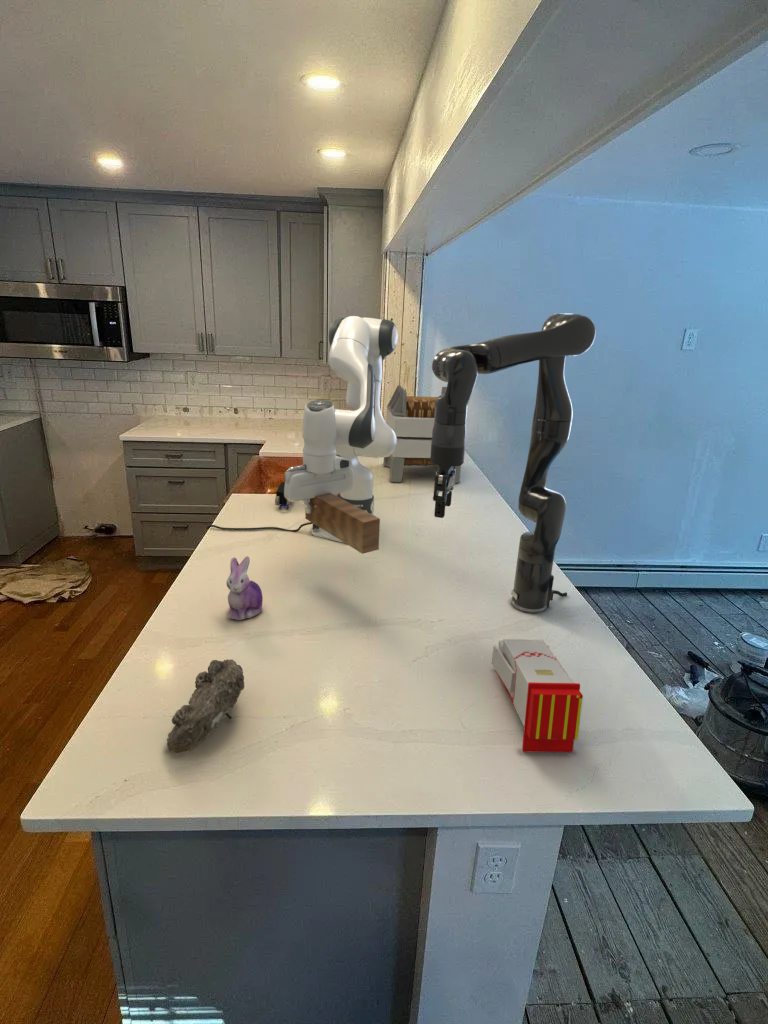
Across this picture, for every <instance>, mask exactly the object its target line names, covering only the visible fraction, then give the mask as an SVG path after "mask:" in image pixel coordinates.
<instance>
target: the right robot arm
mask: <svg viewBox="0 0 768 1024" xmlns="http://www.w3.org/2000/svg"><path fill="white" fill-rule="evenodd" d="M596 333H597V332H596V325H595V323H594V321H593V320H592V319H591V318H589V317H588V316H586V315H584V314H579V313H564V312H563V313H562V312H561V313H559V312H558V313H552V314H551V315H550V316H548V317H547V318H546V319H545V321H544V322H543V325H542V327H541V330H539V331H533V332H525V333H524V332H522V333H516V334H515V333H514V334H507V335H502V336H497V337H494V338H491V339H487V340H484V341H481V342H477V343H471V344H462V345H457V346H456V345H455V346H450V347H446V348H443V349H442V350H440V351H439V352H437V353H436V354H435V356H434V357H433V359H432V362H431V371H432V373H433V375H434V376H435V377H436V378H437V379H438V380H440V381H442V382H444V383H446V387H447V388H446V392H445V394H443V395H441V394H440V395H438V396H437V397H438V398H437V400H436V404H435V418H434V426H433V430H432V442H431V456H430V461H431V462H432V463H433V464H435V465H438V466H439V469H438V468H437V471H436V472H435V475H434V485H433V496H432V501H433V502H435V503H434V512H433V513H434V514H433V515H434V517H435V518H440V519H444V517H446V516H445V515H446V507H451V505H452V497H453V496H452V495H453V490H454V489H455V488H454V487H455V485H456V483H455V475H456V467H457V466H461V467H462V466H463V465H464V463H465V454H466V453H465V451H466V442H467V419H468V408H469V407H468V406H469V403H470V400H471V398H472V394H473V391H474V389H475V385H476V382H477V379H478V374H479V375H489V374H490V375H491V374H493V373H497V372H501V371H503V370H507V369H510V368H514V367H517V366H521V365H525V364H529V363H533V362H537V361H538V377H537V386H536V394H535V403H534V409H533V415H532V421H531V424H532V425H531V429H530V430H531V431H530V441H529V447H528V454H527V460H526V465H525V470H524V474H523V478H522V483H521V486H520V491H519V495H518V501H517V502H518V503H517V507H518V512H519V513H520V515H521V516H522V517H523V518H524V519H527V520H529V521H531V522H533V523H535V526H534V530H529V531H526V532H523V533H522V534H520V537H519V543H518V552H517V560H516V566H515V574H514V580H513V581H514V582H513V588H512V589H511V593H510V595H511V600H510V604H511V605H512V606H513V608H515V609H516V610H519V611H521V612H524V613H529V614H538V613H543V612H545V611H546V610H547V609H549V608H550V604H551V601H553V600H554V595H558V596H560V597H562V598H563V597H567V596H568V592H561V591H559V590H554V589H553V585H554V579H555V576H554V575H553V574H552V571H553V565H554V559H555V554H556V553H555V552H556V548H557V545H558V542H559V541H560V538H561V534H562V531H563V525H564V521H565V516H566V511H567V502H566V499H565V497H564V495H563V494H561V493H560V492H558V491H555V490H552V489H549V488H547V478H548V474H549V470H550V468H551V465H552V463H553V462H554V460H555V459H556V458H557V457H558V456H559V454H561V452H562V451H563V450H564V448H565V446H566V445H567V443H568V441H569V438H570V436H571V435H570V434H571V430H572V429H571V428H572V423H573V417H574V414H573V413H574V410H573V405H572V400H571V397H570V394H569V391H568V387H567V384H566V379H565V366H566V358H567V357H576V356H581V355H582V354H584V353H586V352H587V351H589V349H590V348H591V347H592V345H594V341H595V339H596V335H597V334H596ZM439 493H441V495H439Z"/></svg>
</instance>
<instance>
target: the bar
mask: <svg viewBox="0 0 768 1024" xmlns="http://www.w3.org/2000/svg"><path fill="white" fill-rule="evenodd" d="M308 504H309V505H310V506H312V507H313V513H310V514H307V513H306V507H305V506H304V507H305V509H304V511H305V512H304V513H305V515H304V516H305V517H304V518H305V520H307V521H308V522H312V523H313V524H315V525H317V526H318V527H320V528H321V529H323V530H325V531H326V532H328V533H329V534H331V535H333V536H334V537H336V538H338V539H339V540H341V541H342V542H341V543H343V542H344V543H343V544H346V545H347V546H349V547H350V548H351V549H354V550H355V551H357V552H359V553H360V554H361V555H364V554H367V553H371V552H374V551H378V550H380V549H379V548H380V525H381V518H380V517H378V516H376V515H374V514H373V515H372V514H370V513H368V512H366V511H364V510H362V509H360V508H358V507H357V506H355V505H353V504H351V503H349V502H347V501H345V500H343V499H341V498H339V497H337V496H335V495H333V494H332V493H328V494H323V495H318V496H315V498H311V499H310V502H309V503H308ZM313 524H312V525H313Z"/></svg>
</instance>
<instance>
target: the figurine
mask: <svg viewBox="0 0 768 1024" xmlns="http://www.w3.org/2000/svg"><path fill="white" fill-rule="evenodd" d="M250 559H251V558H250V556H248V555H246V556H245V557H244V558H243V559H242V561H240V563H239V561H238V559H237V557H235V556H234V557H231V559H230V565H229V567H230V573H229V575H228V577H227V580H226V587H227V588H228V590H229V592H228V594H227V602H228V606H229V619H232V620H235V621H243V620H245V619H251V618H254V617H255V616H256V615H258V614H260V613H261V612H262V609H263V598H264V597H263V592H262V589H261V586H260V585H259V584H258V583H257V582H255V581H253V580H250V577H249V576H248V574H247V572H248V569H249V566H250V562H251V561H250Z"/></svg>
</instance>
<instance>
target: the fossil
mask: <svg viewBox="0 0 768 1024" xmlns="http://www.w3.org/2000/svg"><path fill="white" fill-rule="evenodd" d="M243 670H244V669H243V667H242V665H240V664H237V662H236V661H235V660H234V659H232V658H231V659H227V658H226V659H224V660H223V661H222V660H217V659H212V660H211V661H210V663H209V665H208V666H207V671H201V672H199V673H198V674H197V675H196V676H195V680H194V684H195V685H194V687H195V689H194V690H193V693H192V694H191V697H190V698H189V700H188V704H184V705H182V706H181V707H180V709H177V710H176V711H175V713H174V715H173V716H172V718H171V723H172V724H173V727H172V730H171V731H170V732H168V734H167V738H166V741H167V742H166V745H167V749H168V750H169V751H173V752H174V753H176V754H178V753H182V752H188V751H189V752H192V751H193V750H195V748H196V747H197V746H199V744H200V743H201V742H203V741H204V740H205V739H206V738H207V737H208V736H209V735H210V734H211V733H212V732H214V730H215V729H217V727H218V726H219V724H220V722H221V721H222V720H223V719H224V718H225V716H226V717H227V719H229V720H233V717H232V715H230V714H229V710H230V709H231V708H234V706H235V704H236V703H237V702H238V699H239V697H240V695H241V693H242V691H243V690H245V689H244V688H245V675H244V671H243Z"/></svg>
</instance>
